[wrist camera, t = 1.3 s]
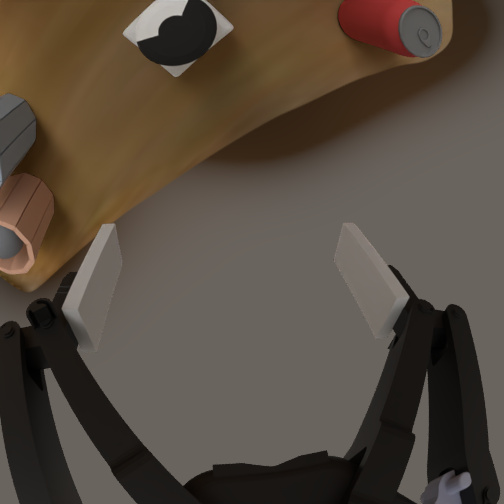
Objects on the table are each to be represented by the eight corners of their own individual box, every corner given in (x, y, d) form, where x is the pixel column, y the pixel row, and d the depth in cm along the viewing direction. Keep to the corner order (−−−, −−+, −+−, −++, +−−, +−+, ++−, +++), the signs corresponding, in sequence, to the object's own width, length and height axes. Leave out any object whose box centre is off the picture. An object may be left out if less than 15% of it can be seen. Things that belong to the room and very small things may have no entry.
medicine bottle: (226, 25, 25) (246, 30, 17) (178, 66, 28) (174, 92, 20) (182, -14, 20) (179, -30, 12) (133, 30, 23) (106, 38, 15)
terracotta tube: (-7, 181, 30) (-37, 226, 23) (43, 167, 31) (15, 213, 25) (15, 229, 37) (-5, 276, 30) (63, 220, 38) (45, 270, 32)
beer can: (357, 50, 29) (417, 74, 21) (325, 13, 25) (383, 21, 17) (389, 23, 26) (454, 42, 18) (360, -14, 22) (425, -11, 14)
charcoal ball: (-6, 217, 29) (-25, 217, 23) (27, 207, 31) (11, 206, 25) (1, 259, 30) (-18, 265, 24) (34, 251, 32) (19, 256, 26)
